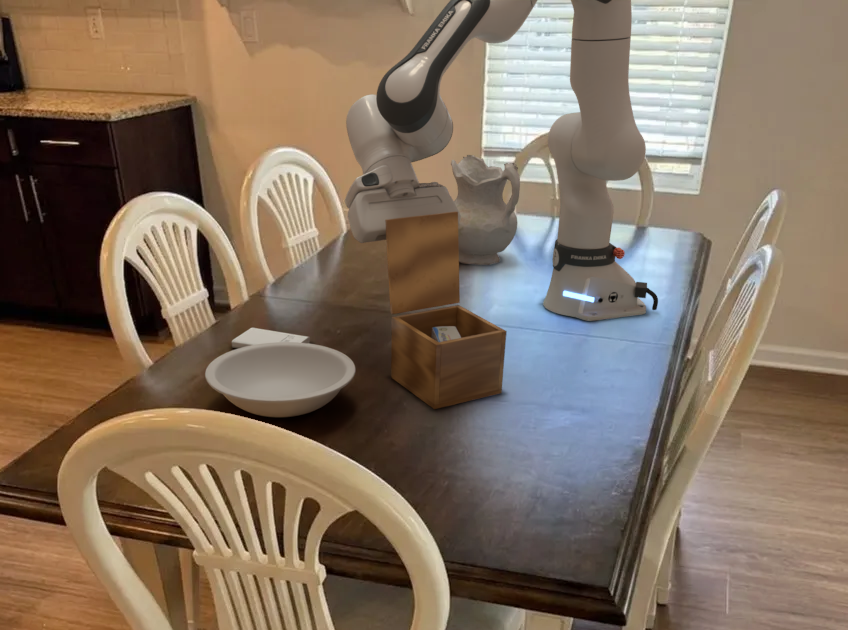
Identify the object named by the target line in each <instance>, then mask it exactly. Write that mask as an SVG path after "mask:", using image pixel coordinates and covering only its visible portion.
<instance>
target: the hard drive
mask: <svg viewBox="0 0 848 630" xmlns="http://www.w3.org/2000/svg"><path fill="white" fill-rule="evenodd" d="M275 342H298V343H308V344H311V337H310V336H306V335H300V334H294V333H288V332H282V331H275V330H269V329H263V328H257V327H250V328H248V329H247V330H245V331H244V332H242V333H241V334H240V335H238V336H236V337H235V338H233V339H232V340H231V348H233V349H239V348H242V347H246V346H251V345H257V344H264V343H275Z"/></svg>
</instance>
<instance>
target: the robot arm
mask: <svg viewBox="0 0 848 630" xmlns="http://www.w3.org/2000/svg"><path fill="white" fill-rule="evenodd" d="M537 2H538V0H449V1H448V3H446V5H445V6H444V7H443V9H442V10H441V11H440V13H439V14H438V15H437V16H436V18H435V19H434V20H433V22H432V23H431V24H430V25H429V27H428V28H427V30H426V31H425V32H424V34H423V35H422V36H421V38H420V39H419V40H418V41H417V42H416V44H415V45H414V46H413V48H412V49H411V50H410V51H409V52H408V53H407V54H406V55H405V56H404V57H403V58H402V59H400V61H398V62H397V63H396V64H394V65H393V66H391V68H390V69H389V70H388V71H386V72H385V74H384V75H383V77H382V78H381V80H380V81H379V84H378V86H377V89H376V94H373V93H371V94H366V95H363V96H362V97H360V98H358V99H357V100H356V101H355V102H354V103H353V104H352V105H351V106H350V107H349V109H348V111H347V114H346V118H345V119H346V120H345V127H346V132H347V136H348V140H349V144H350V147H351V150H352V152H353V155H354V158H355V160H356V162H357V164H358V165H359V166H360V167H361V171H362V175H360V176H357V177H356V178H355V179H354V180H353V182H352V183H351V185H350V187H349V189H348V191H347V193H346V195H345V198H344V204H345V207H347V209H348V210H347V220H348V224H349V228H350V231H351V233H352V234H351V235H352V236H353V239H354V240H356V241H357V242H358V243H360V244H364V243H365V244H366V243H373V242H381V241H386V224H385V220H386V219H394V218H403V217H412V216H420V215H429V214H438V213H446V212H455V211H456V212H458V224H459V222H460V220H461V215H460V213H459V210H458V208H457V206H456V204H455V203H454V201H455V200H454V199H453V197H452V196H451V194H450V191H449V189H448V188H447V187H446V186H445V185H443V184H441V183H439V182H437V181H432V182H419V179H418V176H417V174H416V171H415V169H414V167H413V164H412V163H415V162H418V161H422V160H425V159H427V158H430V157H433V156H435V155H437V154H440V153H441V152H442V151H443V150H444V149H446V147H447V146H448V145H449V143H450V141H451V139H452V136H453V133H454V122H453V119H452V116H451V115H450V112H449V110H448V108H447V106H446V103H445V102H444V99H443V98H442V96H441V93H440V92H441V89H440V88H441V82H442V79H443V77H444V75H445V73H446V72H447V71H448V69H449V68H450V67H451V65H452V64H453V63H454V62H455V60H456V59H457V57H458V56H459V54H460V53H461V52H462V51H463V50H464V48H465V46H466V45H467V44H468V43H469V42H470V41H472V40H473V39H475V38H476V39H477V40H479V41H482V42H483V43H487V44H502V43H505V42H507V41H510V40H511V39H512V37H513V36H515V35H516V33H517V32H519V30H520V29H521V28H522V26H523V24H525V22H526V21H527V18H528V17H529V15H530V14H531V12H532V11H533V10H534V8H535V6H536V4H537ZM570 2H571V5H572V8H573V18H572V27H571V41H570V42H571V44H570V47H571V48H570V65H569V66H570V67H569V84H570V88H571V89H572V91H573V93H574V95H575V97H576V100H577V103H578V107H579V111H578V112H570V113H565V114H563V115H561V116H559V117H558V118H557V119H556V120H555V121H554V122H553V124H552V125H551V127H550V129H549V132H548V136H547V146H548V150H549V152H550V154H551V156H552V158H553V161H554V164H555V170H556V176H557V183H558V190H559V191H558V192H559V203H560V204H559V215H558V216H559V217H558V227H557V239H556V240H555V241H554V248H553V252H552V273H551V278H550V282H549V285H548V289H547V292H546V296H545V298H544V299H543V302H542V305H543V307H544V308H545V309H546V310H548V311H550V312H552V313H554V314H558V315H562V316H567V317H573V318H577V319H580V320H583V321H586V322H594V321H601V320H610V319H617V318H618V319H619V318H624V317H634V316H641V315H642V316H643V315H645V314H646V313H647V305H646V303H645V302H644V301H643V300H642V299H646V297H647V294H648V295H649V296H650V297H651V298H652V300H653V303H652V307H651V310H652V311H656V310H657V309H658V303H659V298H658V295H657V294H656V292H654V291H653V290H652V289H650V288H649V287H648V282H643V281H636V280H635V279H634V278H633V276H631V275H630V273H628V271H626V269H625V268H623V267H622V266H621V265H620V264H619V263H618V262H617V261H616V259H619V260H621V259H623V258H624V257H625V255H626V252H625V250H624V249H622V248H621V247H619V246H618V247H617V246H615V245H614V244H612V243H611V242H610V241H611V235H612V227H613V220H614V213H615V207H614V202H613V200H612V198H611V196H610V194H609V191H608V187H607V186H608V185H607V182H609V181H611V182H613V181H614V182H615V181H616V182H617V181H625V180H628V179H630V178H632V177H633V176H635V175H636V174H637V172H639V170H640V169H641V167H642V165H643V163H644V161H645V158H646V151H647V150H646V149H647V147H646V141H645V138H644V137H643V135H642V134H641V132H640V130H639V128H638V126H637V123H636V120H635V116H634V112H633V105H632V101H631V95H630V84H629V71H630V54H631V41H632V40H631V38H632V22H633V21H632V19H633V18H632V15H633V14H632V0H570Z"/></svg>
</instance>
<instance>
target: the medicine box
mask: <svg viewBox="0 0 848 630" xmlns="http://www.w3.org/2000/svg"><path fill="white" fill-rule="evenodd" d="M431 338H432V339H434V340H435V341H437V342H443V341H448V340H453V339H458V338H461V336H460V334H459V332H458V330H457V328H456V327H455V326H440V327H433V328H432V335H431Z"/></svg>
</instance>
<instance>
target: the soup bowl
mask: <svg viewBox="0 0 848 630" xmlns="http://www.w3.org/2000/svg"><path fill="white" fill-rule="evenodd" d="M204 372H205V373H204V377H205V381H206V382H207V384H208V385H209V386H210V387H211V389H213V390H214V391H216V392H217V393H219V394H221V395H223V396H224V397H225V398H226V400H228V401H229V402H230V403H231V404H233V405H234V406H236V407H237V408H239V409H240V410H243V411H245V412H247V413H250V414H253V415H256V416H261V417H266V418H267V417H268V418H290V417H291V418H292V417H297V416H302V415H306V414H309V413H313V412H314V411H316V410H318V409H320V408H322V407H324V406H326V405H327V404H328V403H330V402H332V400H333V399H334V398H336V396H338V394H339V393H340V391H341V390H342V389H343V388H345V387H346V386H348V385H349V384H350V383H351V382H352V381H353V379H354V377H355V375H356V365H355V362H354V361H353V360H352V359H351V358H350V357H349V356H348V355H346V354H344V353H343V352H341V351H339V350H337V349H334V348H331V347H328V346H324V345H319V344H314V343H309V344H308V343H298V342H275V343H264V344H257V345H251V346H246V347H242V348H239V349H238V348H234V349H232V350H230V351H227V352H225V353H223V354H221V355H219V356H218V357H216V358H214V359H213V360H212V361H211V362H210V363H209V364H208V365H207V366H206V369H205V371H204Z"/></svg>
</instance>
